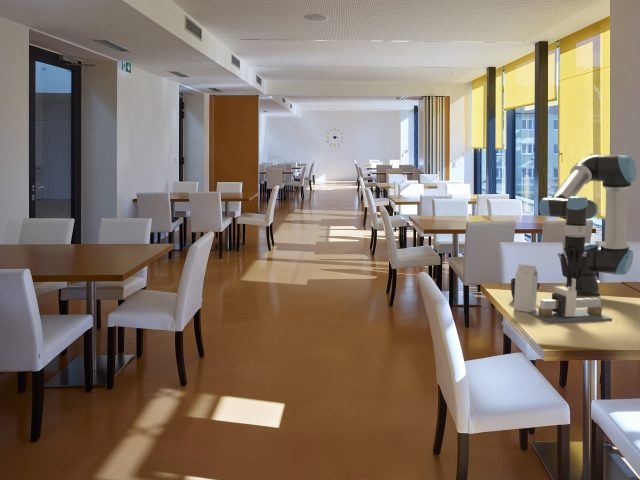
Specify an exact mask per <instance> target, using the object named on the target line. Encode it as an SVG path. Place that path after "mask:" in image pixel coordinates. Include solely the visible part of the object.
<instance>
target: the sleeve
mask: <svg viewBox="0 0 640 480" xmlns="http://www.w3.org/2000/svg"><path fill="white" fill-rule="evenodd" d="M553 293H557V294H560V295H563V296H565V297H566V302H565V315H563V316H565V317H570V316H575V310H576V309H577V308H576V298H577V294H576V293H577V291H576V290H573V289H570V288H567V287H565V285H564V286H563V285H562V286H554V292H553ZM557 299H558V298H557Z"/></svg>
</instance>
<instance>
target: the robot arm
mask: <svg viewBox="0 0 640 480" xmlns="http://www.w3.org/2000/svg"><path fill="white" fill-rule="evenodd" d="M636 178H637V167H636V162H635V160H634V158H633V156H631V155H624V154H593V155H590V156H588V157H585V158H583V159H582V160H579V161H578V162H577V163H576V164H574V166H573V167H572V168H571V169H570V171H569V175H568V176H567V177H566V179H565V180H564V181H563V183H561V185H560V186H559V188H558V189H557V190H556V191H555V192H554V194H552V195H551V197H543V198H542V199H541V200H540V201H539V205H538V207H539V209H538V210H539V211H538V212H539V213H540V215H541V216H545V217H553V218H554V217H555V218H565V229H564V235H565V236H564V248H563V251H562V252H558V253H557V256H558V258H559V261H560V267H561V273H562V277H565V278H566V282H565V284H564V287H567V288H570V289H573V290H576V291H577V293H576V296H577V295H580V296H598V294H600V288H599V284H598V280H597V273H601V274H611V275H620V276H625V275H627V274H628V273H629V271H630V270H631V267H632V264H633V261H634V251H633V250H632V249H630V246H629V245H630V244H628V242H626V233H627V230H626V229H627V203H628V201H627V200H628V189H629V188H631V186H632V184H633V183H634V182H635V181H636ZM596 181H597V182H602V187H603V188H604V190H605V211H604V212H605V218H604V219H605V220H604V221H605V222H604V223H605V224H604V227H605V228H604V241H603V242H602V243H600V246H599V244H598V243H595V242H586V237H585V236H586V228H587V220H590V219H592V218H594V217H596V215H597V214H598V212H599V206H598V203H596V202H595V201H594V200H592V199H588V198H587V196H577V195H578V194H579V192H580V191H581V190H582V188H583V187H584V186H585V185H587V184H589V183H590V182H596Z"/></svg>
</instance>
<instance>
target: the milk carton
mask: <svg viewBox="0 0 640 480" xmlns="http://www.w3.org/2000/svg"><path fill="white" fill-rule="evenodd" d="M514 278H515V294H514V301H513V311H519V312H526V313H529V312H530V311H536V309H537V297H538V296H537V295H538V290H537V283H538V278H539V274H538V271H537V266H536V265H531V264H522V263H518V268H517V270H516V272H515V277H514Z"/></svg>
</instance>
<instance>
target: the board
mask: <svg viewBox="0 0 640 480" xmlns="http://www.w3.org/2000/svg"><path fill="white" fill-rule="evenodd" d="M587 309H588V308H580V309H579V308H576V309H575V316H570V317H565V316H563V315H560V314H558V313H556V312H553V311H552V317H551V318H544V317H542V316H540V315H538V312H539V310H534V311H530V312H528V314H529V315H531V316H533V317H536V318H537V319H540V320H543V321H545V322H546V323H548V324H564V323H566V324H567V323H568V324H569V323H582V322H583V323H584V322H589V321H590V322H606V321H605V320H610V321H613V318H612V317H610V316H607V315H604V314H602V313H601V315H592V314H590V313H587Z"/></svg>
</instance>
